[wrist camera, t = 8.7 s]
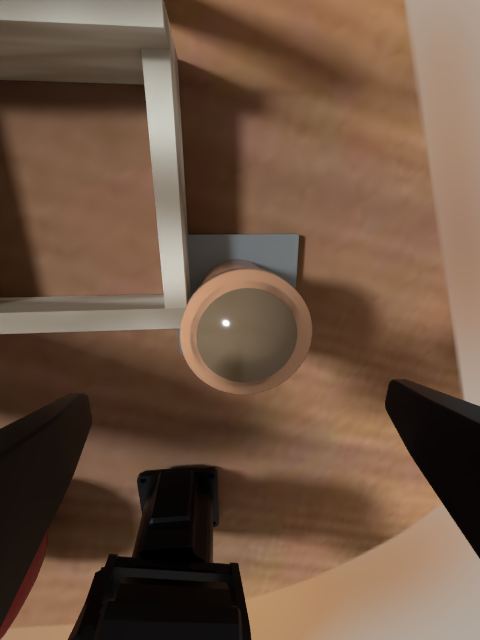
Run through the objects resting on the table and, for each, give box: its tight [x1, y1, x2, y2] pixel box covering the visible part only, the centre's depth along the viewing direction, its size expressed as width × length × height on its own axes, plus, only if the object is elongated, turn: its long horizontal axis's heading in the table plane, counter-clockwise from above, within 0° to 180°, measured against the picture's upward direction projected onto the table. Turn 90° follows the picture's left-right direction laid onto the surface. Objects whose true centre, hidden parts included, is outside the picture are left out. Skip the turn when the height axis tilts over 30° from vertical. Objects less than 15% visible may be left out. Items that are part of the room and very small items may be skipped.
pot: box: [180, 259, 312, 394], centre depth 16 cm, size 6×6×7 cm
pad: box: [178, 234, 299, 354], centre depth 20 cm, size 8×8×1 cm
